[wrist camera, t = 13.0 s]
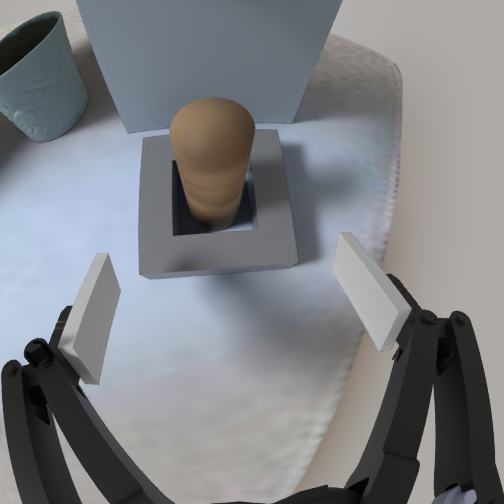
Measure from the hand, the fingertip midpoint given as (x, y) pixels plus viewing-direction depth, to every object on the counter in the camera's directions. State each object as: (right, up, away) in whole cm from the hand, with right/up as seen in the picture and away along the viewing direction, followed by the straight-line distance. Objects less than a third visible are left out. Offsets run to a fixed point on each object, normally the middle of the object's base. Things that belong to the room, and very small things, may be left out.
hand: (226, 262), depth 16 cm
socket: (-2, +4, +7) cm, 9 cm away
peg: (-2, +4, +7) cm, 9 cm away
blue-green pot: (-21, +16, +8) cm, 27 cm away
